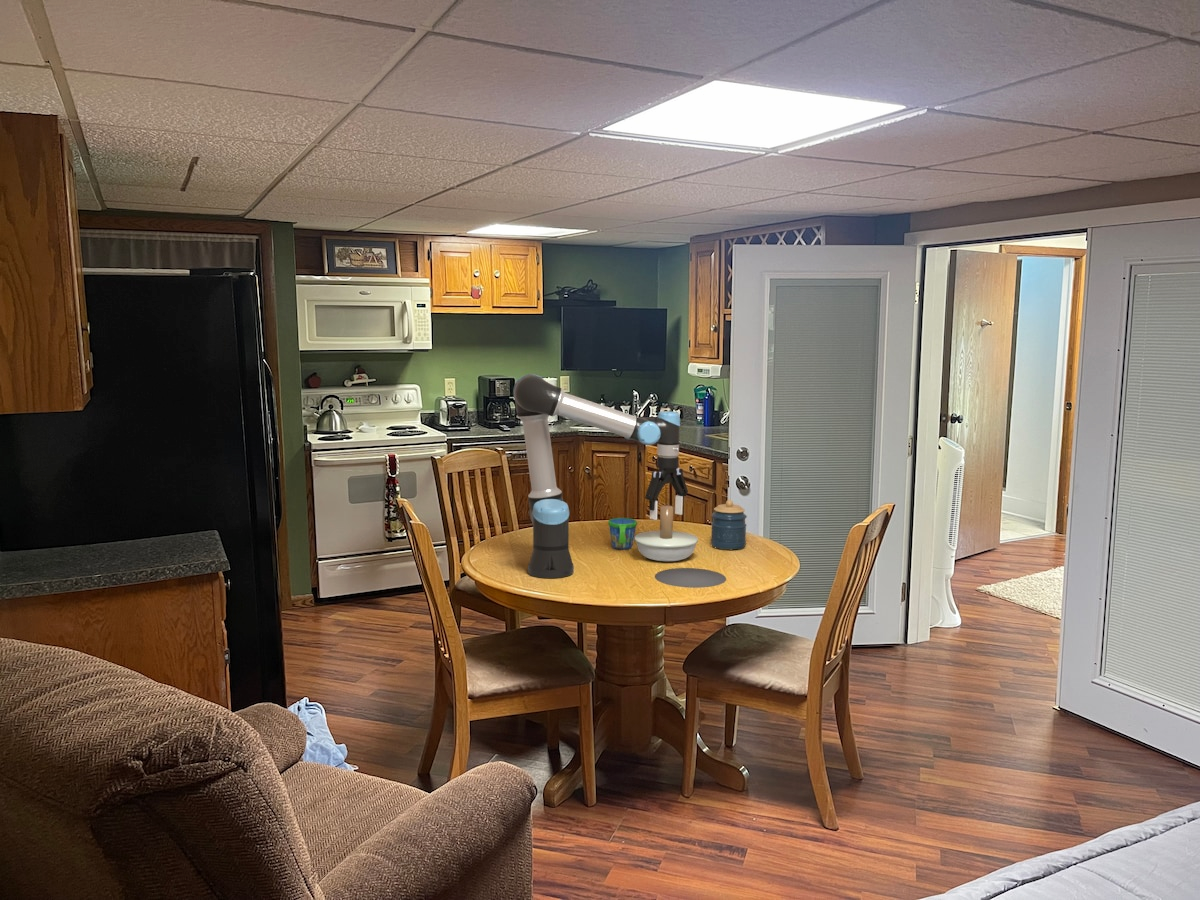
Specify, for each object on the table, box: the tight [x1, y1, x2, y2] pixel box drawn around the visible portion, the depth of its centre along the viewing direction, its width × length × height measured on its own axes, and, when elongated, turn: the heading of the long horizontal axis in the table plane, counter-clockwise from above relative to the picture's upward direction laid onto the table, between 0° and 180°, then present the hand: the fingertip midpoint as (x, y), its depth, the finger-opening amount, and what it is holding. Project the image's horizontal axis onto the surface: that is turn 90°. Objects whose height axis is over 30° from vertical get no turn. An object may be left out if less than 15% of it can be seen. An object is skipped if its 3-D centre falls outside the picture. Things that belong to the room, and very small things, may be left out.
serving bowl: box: [636, 542, 697, 563], centre depth 309 cm, size 21×21×7 cm
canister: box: [710, 499, 748, 550], centre depth 328 cm, size 13×13×18 cm
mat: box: [654, 567, 727, 589], centre depth 284 cm, size 23×23×1 cm
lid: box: [634, 504, 699, 548], centre depth 308 cm, size 22×22×12 cm
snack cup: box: [607, 517, 638, 550], centre depth 325 cm, size 16×10×10 cm
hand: (666, 516), depth 308 cm, fingers open, 13 cm apart
